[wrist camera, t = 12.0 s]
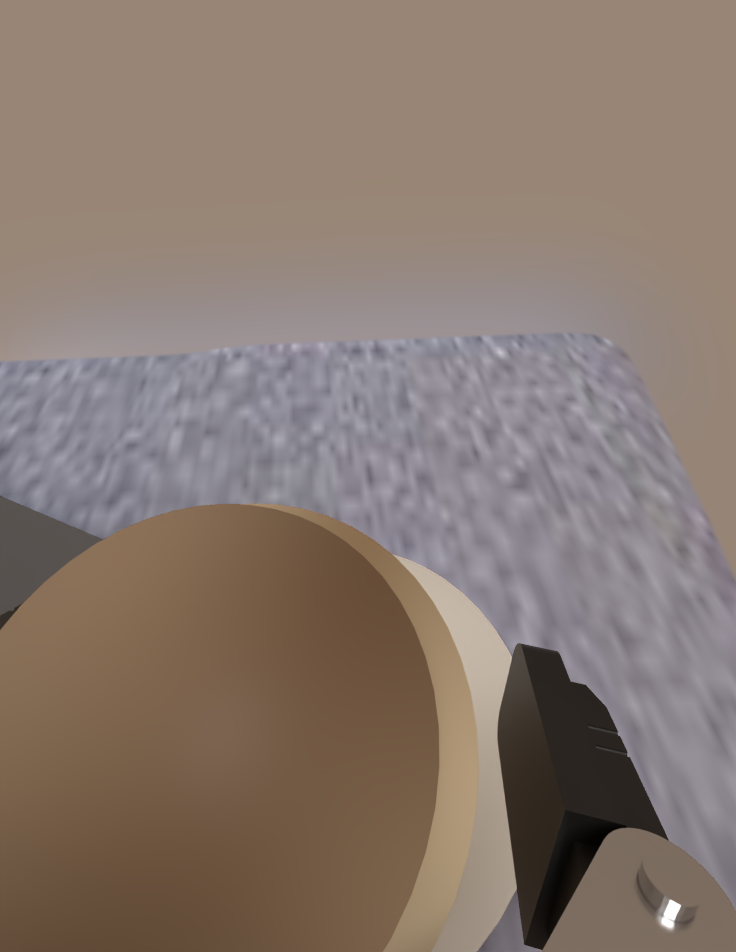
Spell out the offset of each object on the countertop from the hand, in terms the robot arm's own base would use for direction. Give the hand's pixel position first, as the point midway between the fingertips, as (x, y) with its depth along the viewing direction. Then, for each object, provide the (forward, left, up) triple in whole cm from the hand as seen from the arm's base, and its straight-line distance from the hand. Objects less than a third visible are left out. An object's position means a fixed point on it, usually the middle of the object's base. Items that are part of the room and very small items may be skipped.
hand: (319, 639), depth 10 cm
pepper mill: (0, -2, -9) cm, 9 cm away
